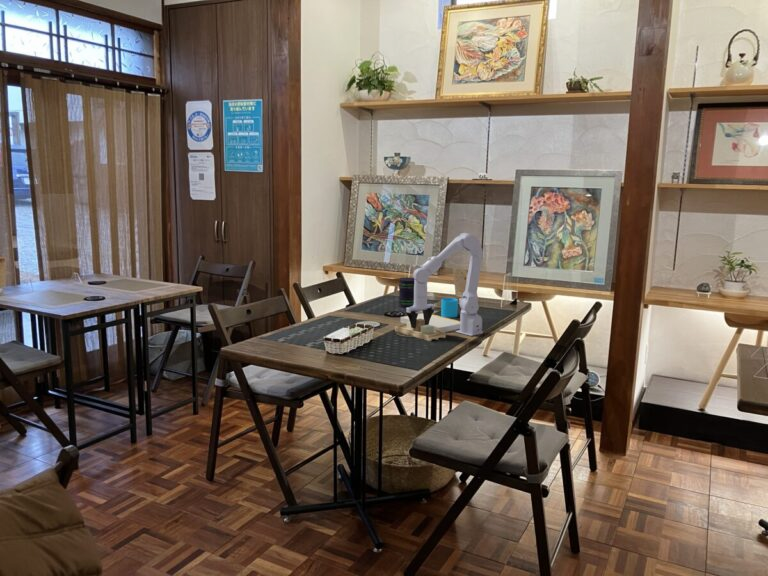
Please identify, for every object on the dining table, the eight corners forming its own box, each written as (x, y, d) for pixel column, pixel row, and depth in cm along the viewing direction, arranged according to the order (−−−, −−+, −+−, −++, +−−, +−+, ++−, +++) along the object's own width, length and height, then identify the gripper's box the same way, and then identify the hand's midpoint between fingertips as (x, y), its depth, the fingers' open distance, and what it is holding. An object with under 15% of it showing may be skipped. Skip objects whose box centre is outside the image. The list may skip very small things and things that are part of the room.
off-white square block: (419, 329, 275) (419, 322, 275) (412, 330, 273) (412, 323, 272) (413, 327, 279) (413, 320, 278) (406, 328, 276) (406, 322, 275)
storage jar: (394, 306, 331) (394, 278, 328) (407, 304, 337) (408, 276, 334) (407, 309, 323) (408, 281, 321) (421, 307, 330) (421, 279, 327)
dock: (464, 327, 285) (464, 322, 284) (439, 333, 275) (439, 327, 274) (425, 317, 304) (425, 312, 304) (400, 322, 294) (400, 316, 294)
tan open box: (445, 338, 268) (446, 322, 266) (428, 342, 261) (429, 326, 260) (411, 328, 284) (411, 313, 283) (394, 332, 278) (394, 316, 277)
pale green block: (433, 333, 269) (433, 326, 268) (427, 334, 266) (427, 327, 265) (427, 331, 272) (427, 324, 271) (420, 332, 269) (420, 325, 269)
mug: (452, 318, 304) (453, 301, 303) (438, 316, 309) (438, 299, 307) (463, 313, 314) (464, 298, 313) (449, 311, 319) (449, 296, 317)
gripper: (426, 292, 277) (425, 322, 280) (401, 296, 268) (401, 327, 270) (437, 295, 272) (436, 325, 274) (412, 299, 263) (412, 330, 265)
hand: (419, 326), depth 272 cm, fingers open, 7 cm apart
